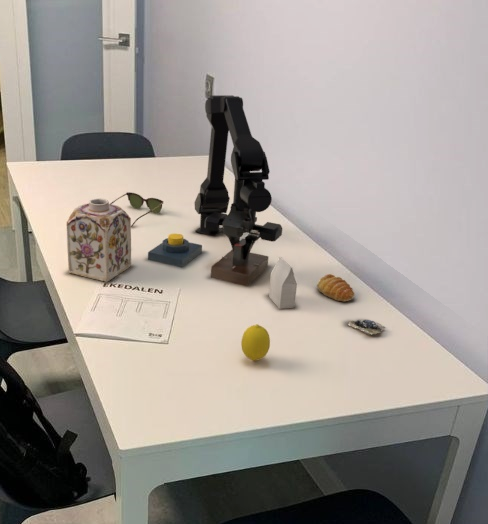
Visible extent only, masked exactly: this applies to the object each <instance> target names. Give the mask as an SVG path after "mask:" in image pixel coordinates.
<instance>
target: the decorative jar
mask: <svg viewBox="0 0 488 524" xmlns="http://www.w3.org/2000/svg"><path fill="white" fill-rule="evenodd" d="M131 226H132V218H131V217H130V215H129V214H128V213H127V212H126V211H125V210H124V209H123V208H122V207H121V206H119V205H118V204H117V205H116V204H113V203H112V204H110V202H109V200H107V199H106V198H93V199H90V200H89V202H88V203H83V204H80V205H78V206H76V207H75V208H74V209H73V211H72V212H71V214H70V216H69V218H68V219H67V221H66V244H67V245H66V246H67V248H66V249H67V263H68V264H67V265H68V273H69V274H72V275H76V276H80V277H85V278H89V279H92V280H96V281H101V282H105V283H108V282H111V280H112V279H114V278H115V277H117V276H118V275H120V274H122V273H123V272H124V271H126V270H128V269H129V268H131V265H132V227H131Z"/></svg>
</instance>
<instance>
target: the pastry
mask: <svg viewBox="0 0 488 524" xmlns="http://www.w3.org/2000/svg"><path fill="white" fill-rule="evenodd" d="M316 287H317V289H318V291H319V292H320V293H322V294H323V295H324V296H326V297H328V298H330V299H332V300H335V301H341V302H347V301H351V300H353V298H354V296H355V292H354V290H353V287H351V285H350V284H349V283H348V282H347V281H346V280H345V279H343V278H342V277H341V276H336V275H334V274H332V273H328V274H325V275H324V276H322V277H321V278H320V279H319V281H318V283H317V285H316Z"/></svg>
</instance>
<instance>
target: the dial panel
mask: <svg viewBox="0 0 488 524" xmlns="http://www.w3.org/2000/svg"><path fill="white" fill-rule="evenodd" d="M268 265H269V256H268V255H264V254H259V253H255V252H250V253H249V258H248V259H247V260H246V261H245V262H243V263H242V264H241V265H240V266H238V265H233V249H232V248H231V250H230V251H229V252H227V253H226V254H225V255H223V256H221V258H220V259H219V260H218V261H217V262H215V263H214V264H213V265H211V267H210V278H211V279H216V280H220V281H224V282H227V283H232V284H237V285H241V286H245V287H249V286H250V285H251V284H253V282H254V281H255V280H256V279H257V278H258V277H259V276H260V275H261V274H262V273H263V272H264V271H265V270H266V269H267V268H268Z"/></svg>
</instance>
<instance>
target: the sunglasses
mask: <svg viewBox="0 0 488 524" xmlns="http://www.w3.org/2000/svg"><path fill="white" fill-rule="evenodd" d="M125 196H127V198H128V199H127V201H128V202H129V203H130V206H131V207H132V208H134V209H137V210H140V209H141V208H142V206H143V205H144V202H145V205H146V207H147V208H148V209H149V211H147V212H146V213H143V214H142V215H140V216H139V217H137V218H136V219H135V220H134V222H132V223H131V228H132V227H133V226H134V225H135V224H136V222H137V221H138V220H140V219H141V218H143V217H144V216H146V215H148V214H150V213H152V214H157V215H158V214H160V213H161V212H162V209H163V205H164V200H161V199H159V198H156V197H148V198H144V197H143V196H142V195H140V194H138V193H135V192H127V191H126V192H125V193H124V194H122V195H121V196H119V197H118V198H115V200H113V201H112V202H109V204H112V205H113V204H114V203H115V202H116V201H118V200H119V199H121V198H123V197H125Z"/></svg>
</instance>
